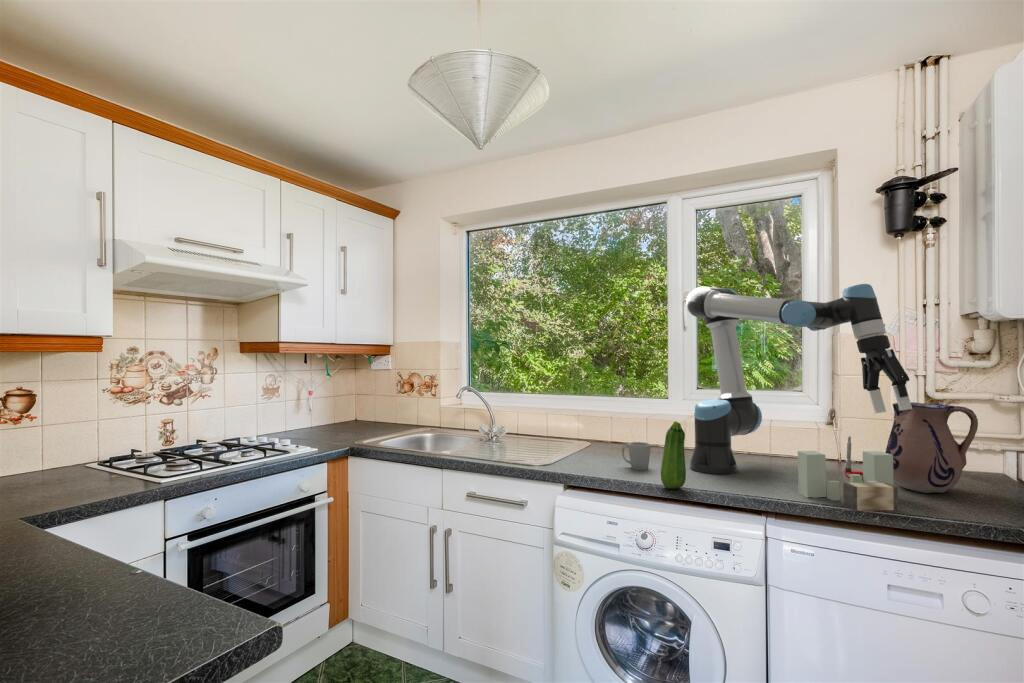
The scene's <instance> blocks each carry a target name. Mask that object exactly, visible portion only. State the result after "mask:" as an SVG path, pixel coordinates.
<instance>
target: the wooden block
mask: <svg viewBox="0 0 1024 683" xmlns="http://www.w3.org/2000/svg"><path fill="white" fill-rule="evenodd" d="M898 498H899V497H898V486H895V485H894V486H893V485H890V484H888V483H863V482H862V483H850V482H843V506H844V505H845V506H844V507H846V506H847V507H846V508H847V509H850V510H852V511H866V512H867V511H870V512H871V511H875V510H876V511H878V510H881V511H880V512H882V510H898V511H899V505H898V504H899V501H898ZM876 511H875V512H876Z"/></svg>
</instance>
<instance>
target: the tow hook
mask: <svg viewBox="0 0 1024 683" xmlns="http://www.w3.org/2000/svg"><path fill="white" fill-rule="evenodd" d="M851 441H852V437H851V436H850V435H848V436H847V442H846V456H845V458H846V459H845V466H844V469H843V472H844V474H845V476H846V477H847V478H848V477H849V478H848V479H850V474H859V475H860V474H861V475H862V480H863V471H859V470H852V442H851Z"/></svg>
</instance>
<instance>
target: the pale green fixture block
mask: <svg viewBox="0 0 1024 683" xmlns="http://www.w3.org/2000/svg"><path fill="white" fill-rule="evenodd" d="M862 472H863V475H860V474H850V478H849V483H888V484H890V485H893V486H895V485H894V480H893V455H891V454H888V453H885V452H884V451H875V450H873V451H872V450H871V451H869V450H868V451H867V450H866V451H865V450H863V451H862ZM862 476H863V479H862Z"/></svg>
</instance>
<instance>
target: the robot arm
mask: <svg viewBox="0 0 1024 683" xmlns="http://www.w3.org/2000/svg"><path fill="white" fill-rule="evenodd" d="M841 293H842V297H840V298H837V299H834V300H830V301H826V302H819V301H818V302H817V301H808V300H807V301H806V300H798V299H797V300H795V299H785V298H784V299H783V298H772V297H763V296H762V297H761V296H760V297H759V296H751V295H750V296H748V295H740V294H739V293H738V292H737V291H735V290H734V289H730V288H728V287H727V288H726V287H710V286H700V287H696V288H695V289H693V290H692V291H691V292H690V293H688V295H687V298H686V302H685V303H686V308H687V311H688V313H690V314H691V315H692V316H693V317H695V318H698V319H704V324H705V327H706V328H708V329H709V330H710V333H711V339H712V340H711V341H712V345H713V352H714V358H715V366H716V372H717V377H718V383H719V389H720V390H719V391H720V395H719V396H718V397H717V398H716V399H711V400H710V399H707V400H702V401H699V402H697V403H696V404H695V406H694V414H693V416H694V448H693V450H692V454H691V457H690V460H689V468H690V469H691V470H693V471H696V472H700V473H703V474H704V473H705V474H712V475H713V474H714V475H729V474H734V473H735V474H736V472H738V463H737V461H736V457H735V455H734V453H733V448H732V437H736V436H746V435H748V434H749V435H750V434H752V433H755V432H756V431H757V430H758V428H760V426H761V424H762V420H763V415H762V414H763V413H762V410H761V408H760V406H758V405H757V404H756V403H755V402H754V401H753V400H754V399H753V396H752V394H751V393H749V392H748V391H747V387H746V381H745V376H744V369H743V363H742V357H741V351H740V345H739V338H738V333H737V332H738V331H737V325H738V324H739V322H740V319H741V320H747V321H748V320H749V321H758V322H765V323H771V324H772V323H774V324H781V325H787V326H792V327H796V328H808V330H810V331H813V332H817V331H821V330H826V329H829V328H832V327H836V326H839V325H842V324H847V323H849V322H850V326H851V329H852V331H853V332H852V333H853V337H854V339H856V340H857V341H856V345H857V349H858V352H859V353H860V354H865V356H864V357H860V362H861V369H862V370H861V371H862V388H863V390H866V391H867V392H868V394H869V397H870V401H871V405H872V407H873V411H874V414H881V413H887V410H886V406H885V405H886V404H885V403H884V399H883V396H882V391H881V388H880V387H879V381H880V380H879V379H880V373H881V372H883V373H884V374H885V375H886V376H887V378H888V379H889V380H890V381H891V387H892V389H893V393H894V396H895V400H896V403H898V407H899V410H900V411H901V410H908V409H912V406H911V403H912V402H911V399H910V397H909V394H908V389H907V387H906V385H907V382H909V381H910V377H909V375H908V374H907V372H906V371H905V369H904V367H903V365H902V364H901V363H900V361H899V359H898V358H897V356H896V353H895V351H894V349H893V348H891V342H890V339H889V336H888V335H887V334H886V333H887V330H886V324H885V323H884V320H883V317H882V314H881V309H880V306H879V304H878V303H879V302H878V297H877V295H876V294H875V291H874V288H873V286H872V285H871V284H869V283H860V284H855V285H852V286H848V287H847V288H844V289H843V290H842V292H841ZM890 348H891V349H890Z"/></svg>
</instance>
